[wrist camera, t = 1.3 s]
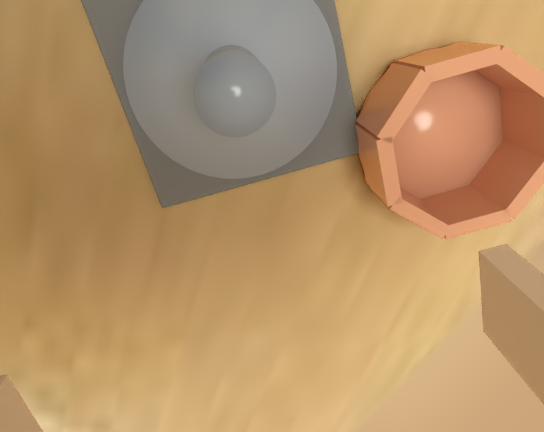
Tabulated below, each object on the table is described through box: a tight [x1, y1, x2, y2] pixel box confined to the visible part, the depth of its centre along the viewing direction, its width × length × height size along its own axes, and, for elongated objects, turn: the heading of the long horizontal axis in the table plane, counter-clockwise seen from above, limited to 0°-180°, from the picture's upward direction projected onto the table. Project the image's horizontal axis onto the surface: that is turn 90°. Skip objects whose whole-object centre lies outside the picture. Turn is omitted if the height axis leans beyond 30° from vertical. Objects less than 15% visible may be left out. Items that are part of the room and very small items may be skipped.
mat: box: [81, 0, 359, 208], centre depth 29 cm, size 14×14×1 cm
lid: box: [123, 0, 337, 179], centre depth 24 cm, size 13×13×9 cm
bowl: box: [355, 42, 544, 239], centre depth 29 cm, size 10×10×5 cm
